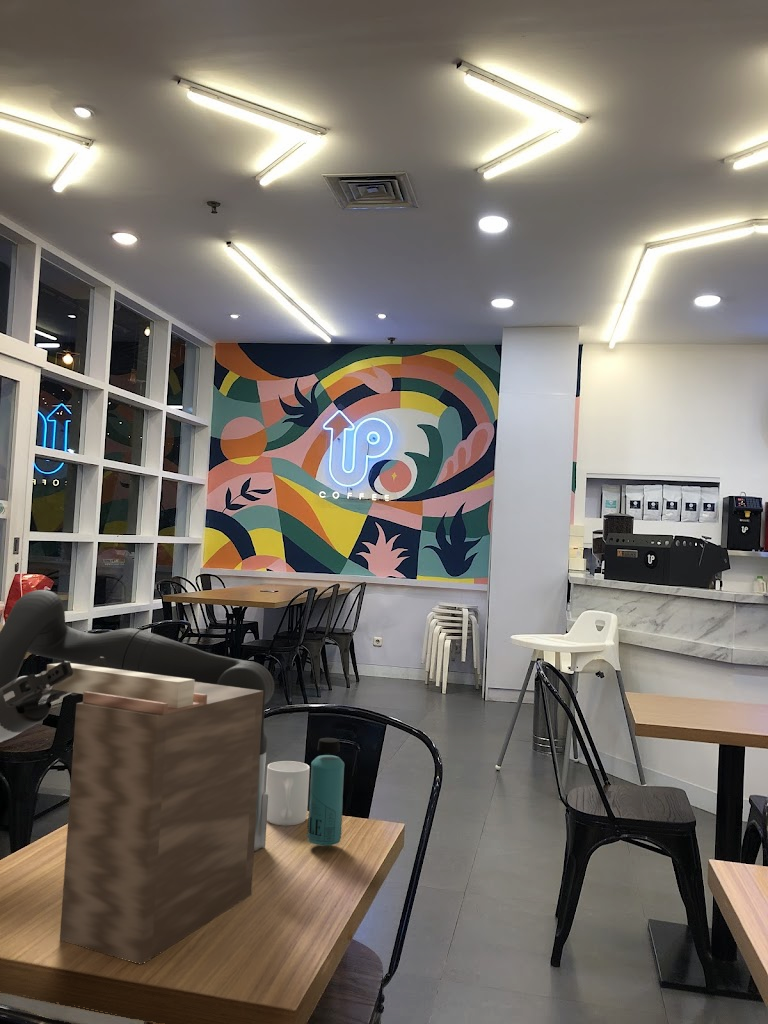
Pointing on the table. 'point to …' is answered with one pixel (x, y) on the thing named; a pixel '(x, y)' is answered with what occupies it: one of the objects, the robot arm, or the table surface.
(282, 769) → the mug
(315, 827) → the beverage bottle
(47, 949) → the table surface
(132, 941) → the brown wooden box
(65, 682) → the cream long bar
